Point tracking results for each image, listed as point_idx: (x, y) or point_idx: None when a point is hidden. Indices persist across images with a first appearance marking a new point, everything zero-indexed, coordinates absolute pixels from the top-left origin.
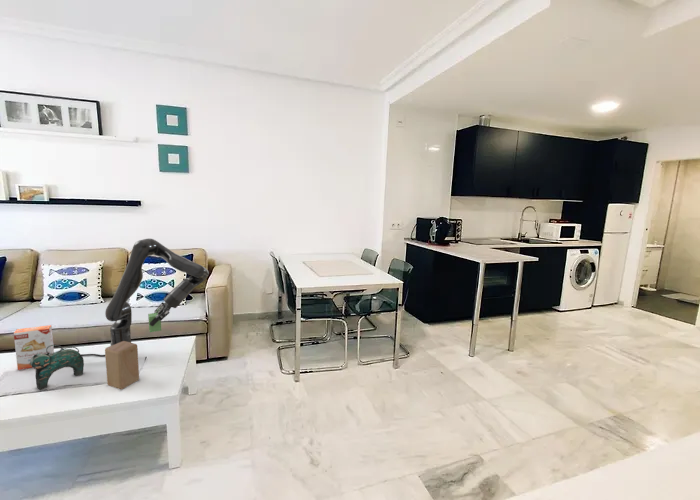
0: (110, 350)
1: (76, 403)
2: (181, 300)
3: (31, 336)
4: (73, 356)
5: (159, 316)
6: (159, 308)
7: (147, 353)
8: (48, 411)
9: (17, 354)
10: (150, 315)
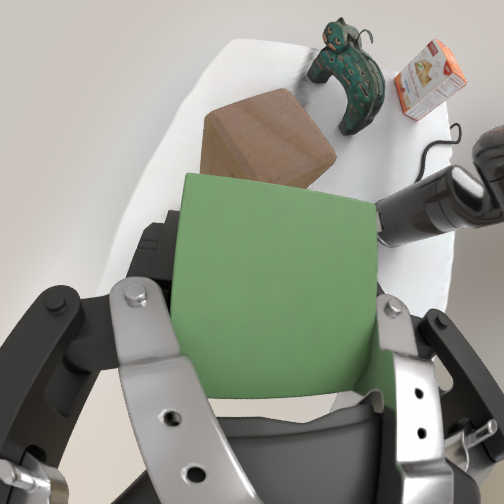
0: (254, 96)
1: (202, 105)
2: None
3: (435, 58)
4: (361, 88)
5: (15, 340)
6: (392, 427)
7: (389, 287)
8: (205, 72)
9: (410, 63)
10: (272, 214)
